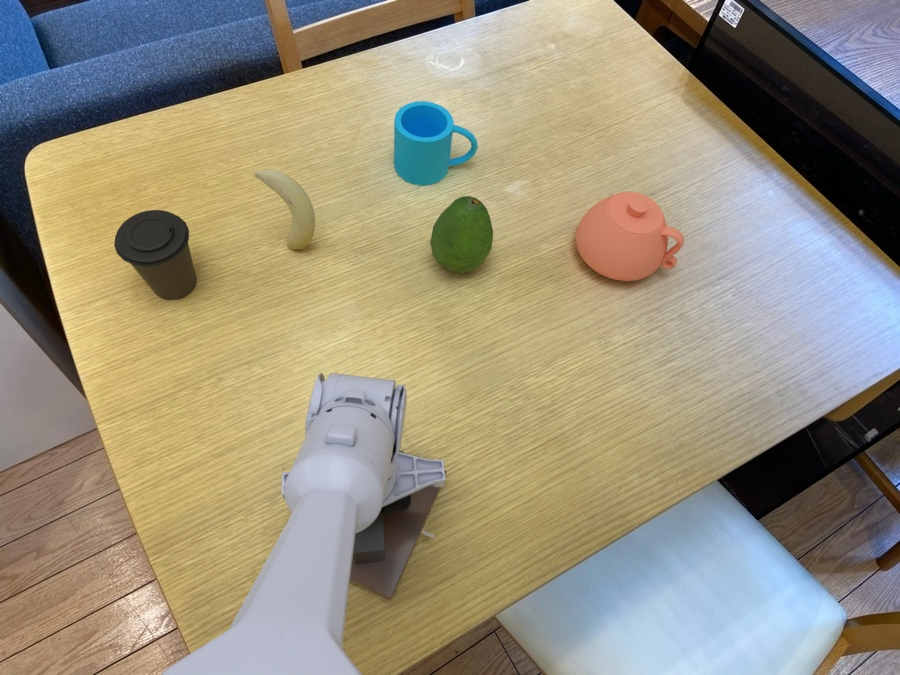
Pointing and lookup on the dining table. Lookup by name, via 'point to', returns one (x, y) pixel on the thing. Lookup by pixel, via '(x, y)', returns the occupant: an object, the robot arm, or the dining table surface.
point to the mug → (426, 143)
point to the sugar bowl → (626, 237)
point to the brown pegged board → (396, 545)
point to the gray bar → (370, 542)
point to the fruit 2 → (462, 235)
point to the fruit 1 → (292, 206)
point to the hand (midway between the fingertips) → (367, 504)
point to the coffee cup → (158, 252)
